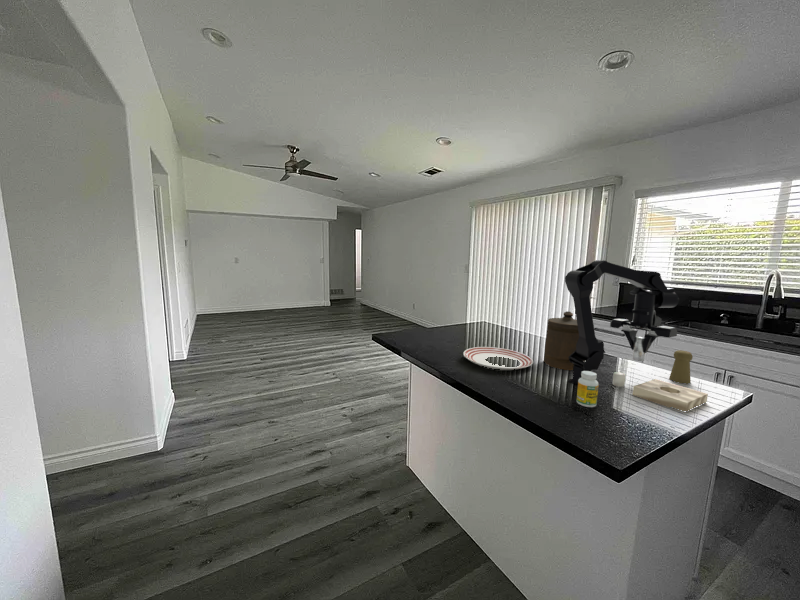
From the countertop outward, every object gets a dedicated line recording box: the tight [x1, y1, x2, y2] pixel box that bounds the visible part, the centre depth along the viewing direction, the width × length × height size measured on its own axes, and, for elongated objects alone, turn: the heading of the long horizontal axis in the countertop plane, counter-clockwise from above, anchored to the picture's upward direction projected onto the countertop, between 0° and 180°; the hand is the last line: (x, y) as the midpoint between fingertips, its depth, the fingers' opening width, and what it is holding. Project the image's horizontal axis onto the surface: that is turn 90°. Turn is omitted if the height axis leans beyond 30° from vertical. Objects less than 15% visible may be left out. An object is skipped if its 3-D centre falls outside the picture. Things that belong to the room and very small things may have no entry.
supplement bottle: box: [576, 371, 599, 408], centre depth 101 cm, size 5×5×10 cm
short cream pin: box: [611, 371, 626, 388], centre depth 118 cm, size 4×4×4 cm
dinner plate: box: [462, 346, 534, 371], centre depth 140 cm, size 28×27×3 cm
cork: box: [668, 349, 693, 385], centre depth 123 cm, size 6×6×11 cm
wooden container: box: [543, 311, 585, 371], centre depth 138 cm, size 15×15×22 cm
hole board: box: [632, 378, 709, 412], centre depth 107 cm, size 14×14×3 cm
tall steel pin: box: [631, 336, 646, 362], centre depth 120 cm, size 4×4×8 cm
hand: (639, 351), depth 120 cm, fingers closed on tall steel pin, 3 cm apart
